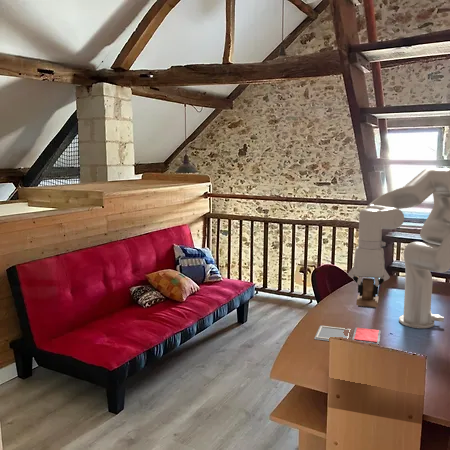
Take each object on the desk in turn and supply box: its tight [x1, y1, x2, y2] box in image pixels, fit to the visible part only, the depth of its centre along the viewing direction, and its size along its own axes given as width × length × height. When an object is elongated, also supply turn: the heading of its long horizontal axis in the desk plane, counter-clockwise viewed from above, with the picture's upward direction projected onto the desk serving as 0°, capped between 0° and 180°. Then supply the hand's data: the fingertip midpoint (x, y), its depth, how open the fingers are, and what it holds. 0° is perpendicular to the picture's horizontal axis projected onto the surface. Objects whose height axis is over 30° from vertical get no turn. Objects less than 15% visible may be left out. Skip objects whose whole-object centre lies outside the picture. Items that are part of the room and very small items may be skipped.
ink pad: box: [351, 327, 381, 346], centre depth 164 cm, size 9×12×2 cm
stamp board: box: [314, 325, 352, 342], centre depth 168 cm, size 12×13×1 cm
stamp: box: [355, 277, 380, 310], centre depth 161 cm, size 7×7×9 cm
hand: (367, 295), depth 161 cm, fingers closed on stamp, 4 cm apart
